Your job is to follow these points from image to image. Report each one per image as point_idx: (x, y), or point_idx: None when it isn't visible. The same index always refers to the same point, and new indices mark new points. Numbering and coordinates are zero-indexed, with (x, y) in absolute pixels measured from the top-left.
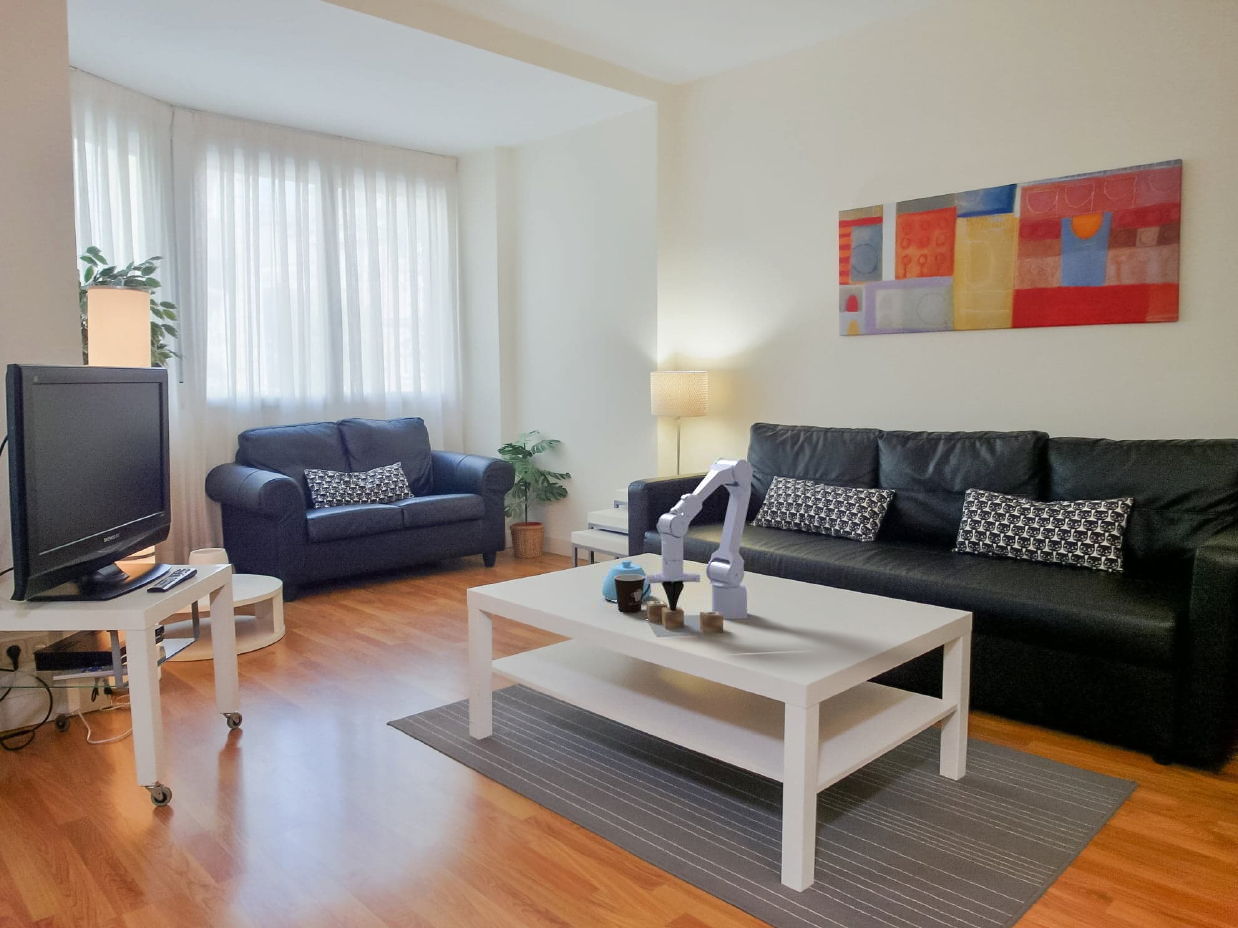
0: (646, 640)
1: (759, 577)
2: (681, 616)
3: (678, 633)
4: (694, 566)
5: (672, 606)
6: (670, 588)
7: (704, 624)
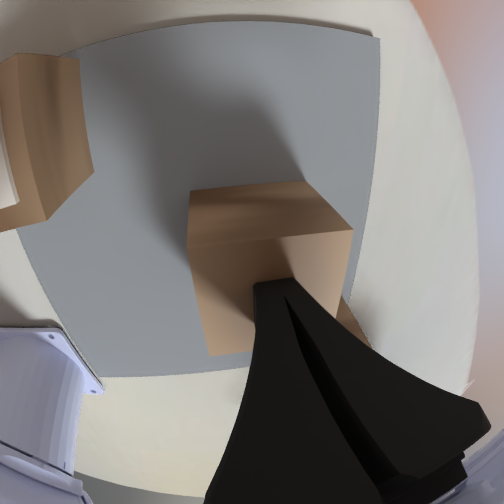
0: (418, 27)
1: (87, 474)
2: (207, 223)
3: (243, 68)
4: (179, 493)
5: (294, 294)
6: (431, 433)
7: (49, 57)
